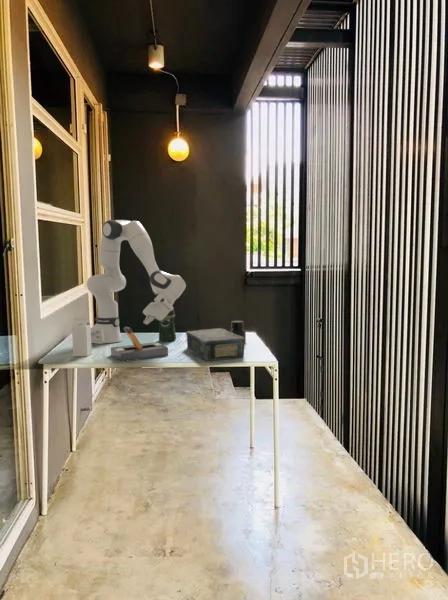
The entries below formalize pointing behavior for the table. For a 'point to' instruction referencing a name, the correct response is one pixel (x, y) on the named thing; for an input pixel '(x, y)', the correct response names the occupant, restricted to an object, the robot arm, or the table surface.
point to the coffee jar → (167, 327)
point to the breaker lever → (132, 337)
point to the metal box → (215, 344)
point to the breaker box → (139, 351)
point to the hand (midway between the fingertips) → (145, 323)
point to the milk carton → (81, 337)
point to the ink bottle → (238, 329)
